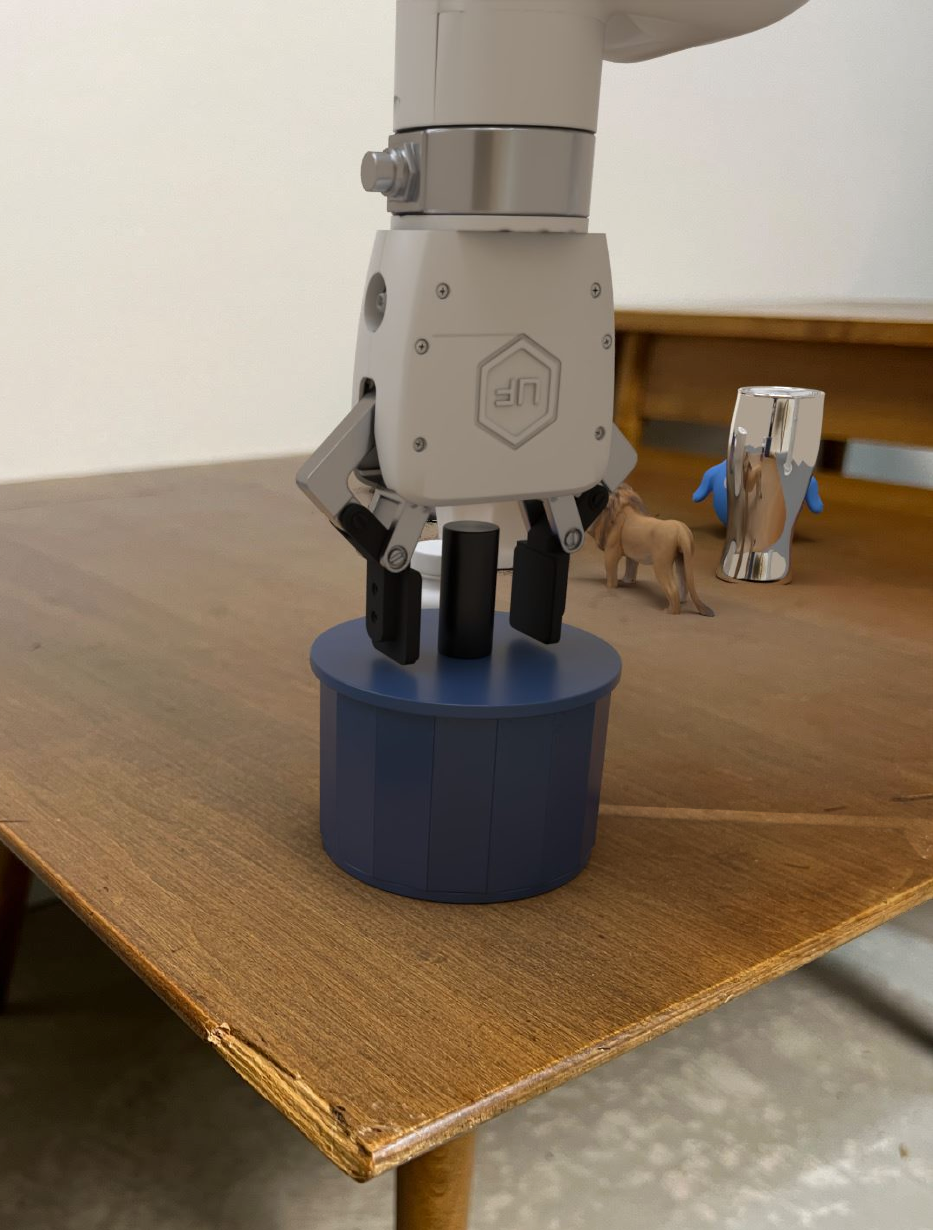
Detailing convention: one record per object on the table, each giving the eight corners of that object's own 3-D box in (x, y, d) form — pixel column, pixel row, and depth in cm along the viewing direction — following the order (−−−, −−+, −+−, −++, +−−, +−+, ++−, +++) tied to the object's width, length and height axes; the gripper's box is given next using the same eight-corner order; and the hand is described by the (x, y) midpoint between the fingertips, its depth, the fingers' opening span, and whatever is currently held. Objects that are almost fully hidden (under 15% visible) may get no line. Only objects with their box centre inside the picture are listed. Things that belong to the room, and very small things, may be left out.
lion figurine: (551, 583, 99) (561, 471, 96) (599, 575, 102) (610, 465, 98) (688, 628, 88) (705, 503, 84) (738, 617, 91) (756, 496, 87)
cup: (448, 536, 114) (454, 414, 110) (577, 551, 110) (588, 424, 105) (394, 564, 104) (398, 432, 100) (533, 582, 99) (544, 443, 95)
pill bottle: (493, 722, 71) (504, 557, 67) (403, 727, 70) (408, 559, 66) (470, 690, 75) (479, 535, 71) (385, 694, 75) (389, 537, 71)
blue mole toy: (672, 544, 113) (684, 451, 109) (697, 520, 122) (708, 434, 119) (808, 559, 108) (824, 462, 105) (822, 532, 118) (838, 443, 114)
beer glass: (783, 592, 97) (815, 398, 91) (698, 579, 101) (723, 391, 95) (806, 575, 103) (837, 390, 97) (724, 563, 106) (750, 383, 100)
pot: (578, 787, 62) (593, 627, 59) (606, 911, 51) (628, 721, 47) (333, 776, 63) (335, 618, 60) (307, 896, 52) (307, 709, 48)
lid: (601, 636, 60) (615, 498, 57) (640, 741, 47) (660, 571, 44) (325, 626, 60) (325, 490, 58) (292, 726, 48) (291, 559, 45)
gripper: (323, 180, 39) (321, 700, 47) (737, 194, 46) (678, 646, 54) (240, 187, 45) (250, 645, 53) (616, 198, 52) (578, 602, 60)
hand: (466, 642), depth 53 cm, fingers open, 6 cm apart
